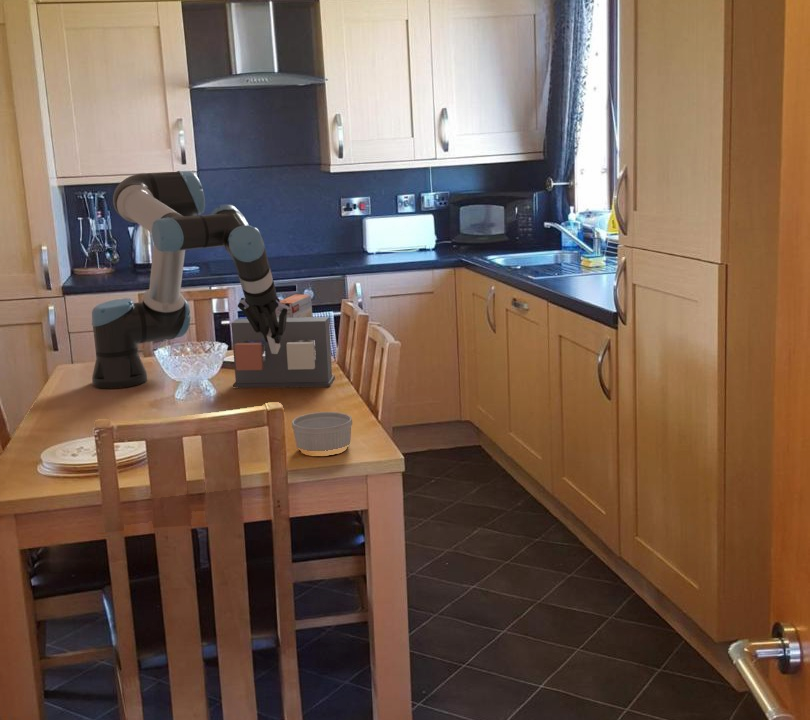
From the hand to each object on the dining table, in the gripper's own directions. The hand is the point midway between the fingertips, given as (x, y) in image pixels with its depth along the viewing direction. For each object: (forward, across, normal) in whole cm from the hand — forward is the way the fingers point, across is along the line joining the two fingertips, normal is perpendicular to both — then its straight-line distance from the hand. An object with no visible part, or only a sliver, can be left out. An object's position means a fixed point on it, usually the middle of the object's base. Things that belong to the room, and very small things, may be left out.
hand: (276, 349), depth 253 cm
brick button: (+17, +13, -7) cm, 23 cm away
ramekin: (-8, -24, +33) cm, 42 cm away
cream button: (+17, -1, -10) cm, 20 cm away
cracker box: (+37, +9, -24) cm, 45 cm away
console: (+26, +6, -9) cm, 28 cm away
